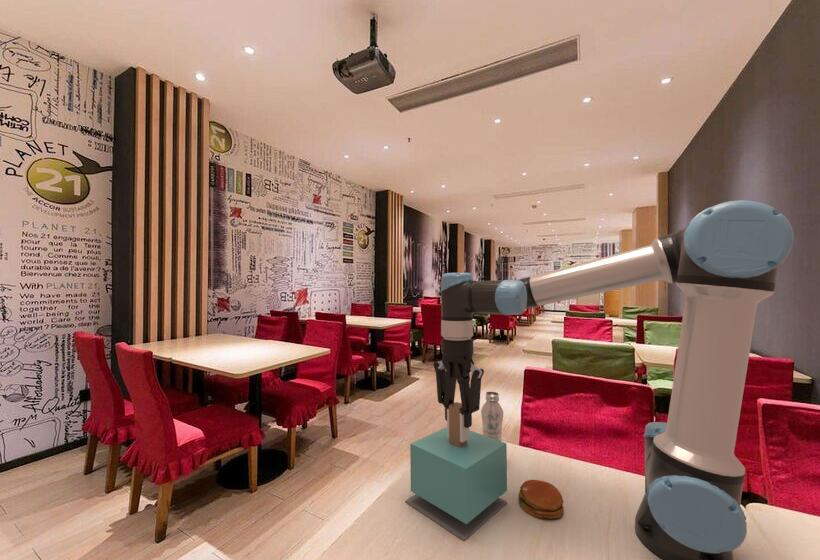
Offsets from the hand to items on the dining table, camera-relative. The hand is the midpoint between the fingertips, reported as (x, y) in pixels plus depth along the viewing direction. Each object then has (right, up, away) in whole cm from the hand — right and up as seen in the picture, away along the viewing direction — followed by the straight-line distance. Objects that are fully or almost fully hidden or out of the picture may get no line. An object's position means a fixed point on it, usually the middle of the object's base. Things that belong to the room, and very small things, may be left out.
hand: (458, 437), depth 80 cm
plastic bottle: (+12, -16, +18) cm, 27 cm away
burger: (+19, -16, -1) cm, 25 cm away
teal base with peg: (0, -12, 0) cm, 12 cm away
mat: (0, -15, 0) cm, 15 cm away
